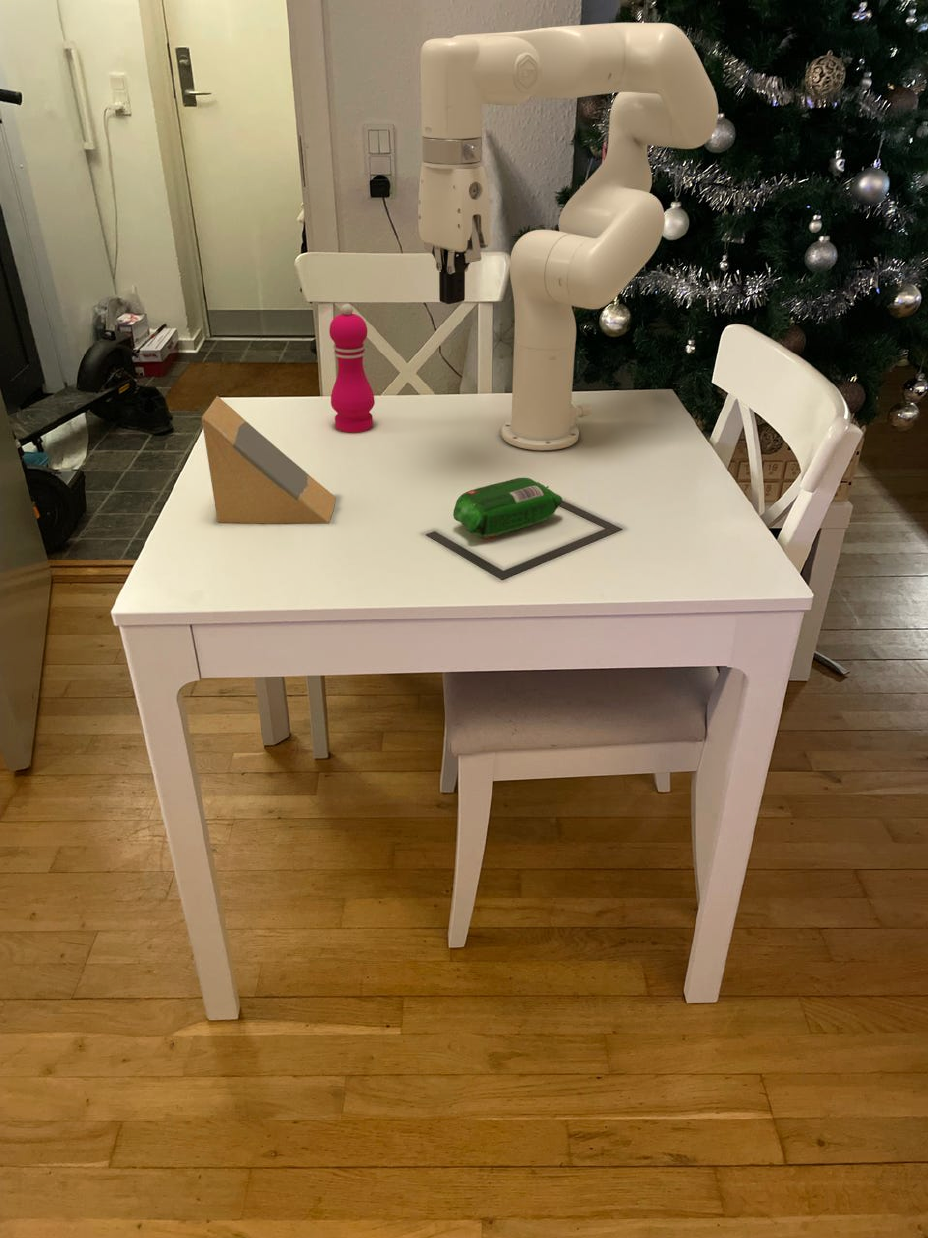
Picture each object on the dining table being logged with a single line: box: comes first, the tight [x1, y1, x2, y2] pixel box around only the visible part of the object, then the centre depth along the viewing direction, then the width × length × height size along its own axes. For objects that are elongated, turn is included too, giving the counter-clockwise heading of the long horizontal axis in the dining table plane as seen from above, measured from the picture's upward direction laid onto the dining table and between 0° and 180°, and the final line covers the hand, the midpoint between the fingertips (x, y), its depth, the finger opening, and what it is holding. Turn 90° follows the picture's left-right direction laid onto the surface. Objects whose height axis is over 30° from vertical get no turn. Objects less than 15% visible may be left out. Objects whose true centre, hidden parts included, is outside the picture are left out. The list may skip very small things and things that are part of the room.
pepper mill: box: [328, 303, 376, 434], centre depth 153 cm, size 7×7×20 cm
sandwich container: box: [201, 395, 337, 524], centre depth 127 cm, size 9×15×15 cm, turn 90°
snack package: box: [452, 477, 563, 539], centre depth 126 cm, size 7×16×5 cm, turn 121°
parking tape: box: [425, 499, 623, 581], centre depth 126 cm, size 22×15×1 cm
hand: (452, 301), depth 129 cm, fingers closed
